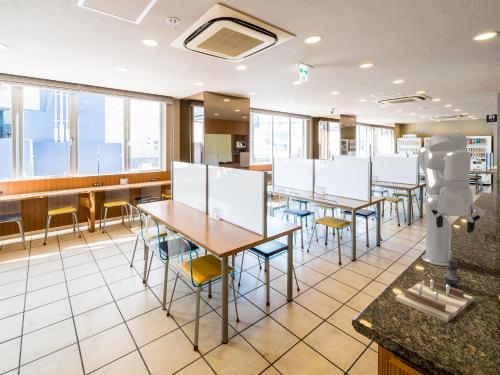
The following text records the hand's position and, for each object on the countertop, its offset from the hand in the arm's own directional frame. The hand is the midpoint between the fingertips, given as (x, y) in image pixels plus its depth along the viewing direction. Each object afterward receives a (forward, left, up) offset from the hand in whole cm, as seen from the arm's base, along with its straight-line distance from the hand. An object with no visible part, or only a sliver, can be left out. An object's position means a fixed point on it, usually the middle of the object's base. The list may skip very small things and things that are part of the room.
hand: (454, 229), depth 102 cm
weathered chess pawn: (0, 0, -23) cm, 23 cm away
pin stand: (+17, +1, -22) cm, 28 cm away
